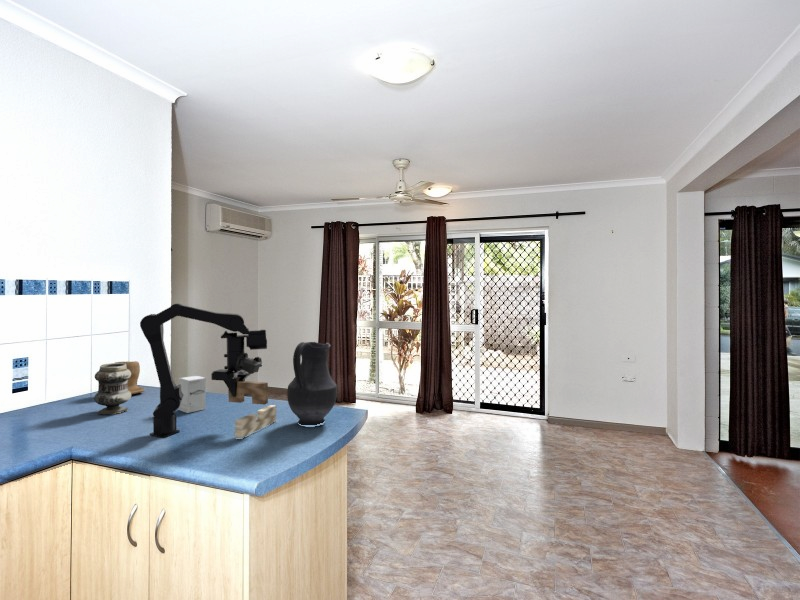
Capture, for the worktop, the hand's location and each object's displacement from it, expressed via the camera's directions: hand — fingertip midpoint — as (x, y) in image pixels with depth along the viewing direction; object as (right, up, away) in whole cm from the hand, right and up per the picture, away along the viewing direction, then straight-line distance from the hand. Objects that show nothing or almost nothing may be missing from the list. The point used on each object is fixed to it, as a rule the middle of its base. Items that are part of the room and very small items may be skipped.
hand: (236, 395), depth 157 cm
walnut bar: (+4, -2, -1) cm, 5 cm away
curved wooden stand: (-64, -9, +42) cm, 77 cm away
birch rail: (+8, -11, -2) cm, 14 cm away
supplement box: (-25, -10, +21) cm, 34 cm away
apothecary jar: (-53, -10, +17) cm, 57 cm away
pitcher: (+24, -11, +4) cm, 27 cm away
